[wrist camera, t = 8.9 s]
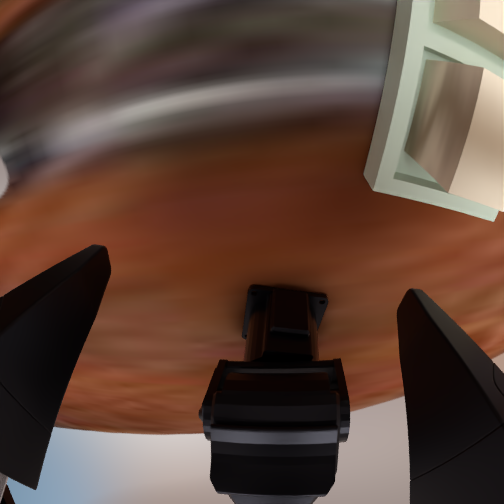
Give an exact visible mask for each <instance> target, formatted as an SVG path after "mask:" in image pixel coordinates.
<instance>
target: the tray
mask: <svg viewBox="0 0 504 504" xmlns="http://www.w3.org/2000/svg"><path fill="white" fill-rule="evenodd" d="M426 59H428V60H438V61H446V62H453V63H460V64H466V65H472V66H478V67H483V68H485V69H487V70H489V71H491V72H492V73H494V74H496V75H497V76H499V77H500V78H502V79H504V0H397V8H396V16H395V23H394V30H393V37H392V43H391V50H390V56H389V61H388V67H387V72H386V78H385V83H384V88H383V93H382V98H381V103H380V107H379V112H378V116H377V121H376V125H375V129H374V134H373V138H372V142H371V146H370V150H369V154H368V158H367V162H366V166H365V170H364V173H363V175H364V177H365V179H366V180H367V182H368V183H369V185H370V187H371V188H372V190H373V191H376V192H381V193H386V194H390V195H395V196H399V197H403V198H408V199H412V200H416V201H420V202H424V203H428V204H432V205H436V206H440V207H444V208H447V209H451V210H455V211H458V212H462V213H466V214H469V215H473V216H476V217H479V218H483V219H486V220H489V221H493V222H494V220H495V218H496V216H497V214H498V211H499V210H497V209H494V208H491V207H489V206H486V205H483V204H480V203H477V202H474V201H471V200H469V199H466V198H463V197H459V196H456V195H453V194H450V193H448V192H447V191H446V190H445V189H444V188H443V187H442V186H441V185H440V184H439V183H438V182H437V181H436V180H435V179H434V178H433V177H432V176H431V175H430V174H429V173H428V172H427V171H426V170H425V169H424V168H422V167H421V166H420V165H419V164H418V163H417V162H416V161H415V160H414V159H413V158H412V157H411V156H409V155H408V154H407V153H406V152H405V151H404V149H405V145H406V142H407V138H408V135H409V131H410V127H411V124H412V120H413V116H414V112H415V108H416V104H417V100H418V95H419V91H420V87H421V82H422V77H423V73H424V68H425V63H426Z"/></svg>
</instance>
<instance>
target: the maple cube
mask: <svg viewBox="0 0 504 504" xmlns="http://www.w3.org/2000/svg"><path fill="white" fill-rule="evenodd" d="M404 151H405V152H406V153H407V154H408V155H409V156H411V157H412V158H413V159H414V160H415V161H416V162H417V163H418V164H419V165H420V166H421V167H422V168H424V169H425V170H426V171H427V172H428V173H429V174H430V175H431V176H432V177H433V178H434V179H435V180H436V181H437V182H438V183H439V184H440V185H441V186H442V187H443V188H444V189H445V190H446V191H447V192H448V193H450V194H453V195H456V196H459V197H463V198H466V199H469V200H471V201H474V202H477V203H480V204H483V205H486V206H489V207H491V208H494V209H497V210H500V211H502V212H504V79H502V78H500V77H499V76H497V75H496V74H494V73H492V72H491V71H489V70H487V69H485V68H483V67H478V66H472V65H466V64H460V63H453V62H446V61H438V60H428V59H426V63H425V68H424V73H423V77H422V82H421V87H420V91H419V95H418V100H417V104H416V108H415V112H414V116H413V120H412V124H411V127H410V131H409V135H408V138H407V142H406V145H405V149H404Z"/></svg>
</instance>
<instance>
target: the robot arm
mask: <svg viewBox="0 0 504 504" xmlns="http://www.w3.org/2000/svg"><path fill="white" fill-rule="evenodd" d="M110 275H111V265H110V260H109V255H108V250H107V248H106V247H105V246H102V245H96V244H94V245H91V246H89V247H87V248H86V249H84V250H82V251H80V252H78V253H76V254H74V255H72V256H71V257H69V258H67V259H65V260H63V261H61V262H60V263H58V264H56V265H54V266H52V267H51V268H49V269H47V270H45V271H44V272H42V273H40V274H38V275H37V276H35V277H33V278H32V279H30V280H28V281H26V282H25V283H23V284H21V285H20V286H18V287H16V288H15V289H13V290H11V291H10V292H8V293H7V294H5V295H4V296H2V297H0V504H15V502H14V500H13V498H12V495H11V493H10V490H9V488H8V485H7V484H6V483H7V480H8V477H9V478H11V479H13V480H15V481H17V482H19V483H21V484H23V485H25V486H28V487H30V488H32V489H34V490H36V489H37V486H38V482H39V477H40V473H41V469H42V466H43V461H44V458H45V454H46V451H47V447H48V444H49V441H50V437H51V433H52V430H53V427H54V424H55V421H56V418H57V415H58V412H59V409H60V406H61V403H62V400H63V397H64V394H65V392H66V389H67V386H68V383H69V381H70V378H71V375H72V373H73V370H74V368H75V365H76V363H77V360H78V358H79V355H80V353H81V350H82V348H83V346H84V343H85V341H86V339H87V336H88V334H89V332H90V329H91V327H92V325H93V322H94V320H95V318H96V315H97V312H98V310H99V307H100V304H101V301H102V298H103V295H104V292H105V289H106V286H107V283H108V281H109V278H110ZM252 291H256V292H252ZM320 300H323V301H320ZM327 304H328V297H327V296H326V295H324V294H317V293H309V292H301V291H294V290H286V289H278V288H271V287H263V286H256V285H253V286H250V287H249V289H248V296H247V303H246V311H245V318H244V325H243V332H242V337H243V338H244V339H246V347H245V355H244V361H228V360H221V359H220V360H219V363H218V366H217V368H215V371H214V373H213V376H212V379H211V381H210V384H209V387H208V390H207V392H206V395H205V398H204V400H203V403H202V407H201V408H200V410H199V418H200V419H201V420H202V421H203V429H204V434H205V437H206V439H207V440H210V441H211V470H210V480H211V482H212V484H213V486H214V488H215V490H216V492H217V493H219V494H228V495H229V497H230V498H231V499H232V501H233V502H234V503H235V504H313V502H314V501H315V500H316V499H317V498H318V497H323V496H326V495H327V494H328V492H329V490H330V489H331V487H332V486H333V484H334V482H335V474H336V472H337V462H338V449H339V442H346V441H347V438H348V434H349V427H350V403H349V396H348V390H347V386H346V381H345V376H344V371H343V367H342V362H341V358H339V359H333V360H323V361H319V352H318V337H317V330H318V328H319V325H320V323H321V320H322V317H323V315H324V312H325V310H326V307H327ZM397 324H398V338H399V354H400V364H401V371H402V378H403V386H404V394H405V403H406V412H407V413H406V414H407V425H408V439H409V457H410V480H411V481H410V504H504V373H503V372H502V371H501V370H500V369H499V368H498V366H497V365H496V364H495V363H493V361H492V360H491V359H490V358H489V357H488V356H487V355H486V353H485V352H484V351H483V350H482V349H481V348H480V347H479V346H478V345H477V344H476V343H475V342H474V341H473V340H472V339H471V338H470V337H469V336H468V335H467V334H466V333H465V332H464V331H463V330H462V329H461V328H460V327H459V326H458V325H457V324H456V323H455V322H454V321H453V320H452V319H451V318H450V317H449V316H448V315H447V314H446V313H445V312H444V311H443V310H442V309H441V308H440V307H439V306H438V305H437V304H436V303H435V302H434V301H433V300H432V299H431V298H430V297H429V296H428V295H427V294H425V293H424V292H423V291H422V290H420V289H413V288H411V289H409V290H408V291H407V292H406V294H405V296H404V298H403V299H402V301H401V303H400V305H399V307H398V310H397Z"/></svg>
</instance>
